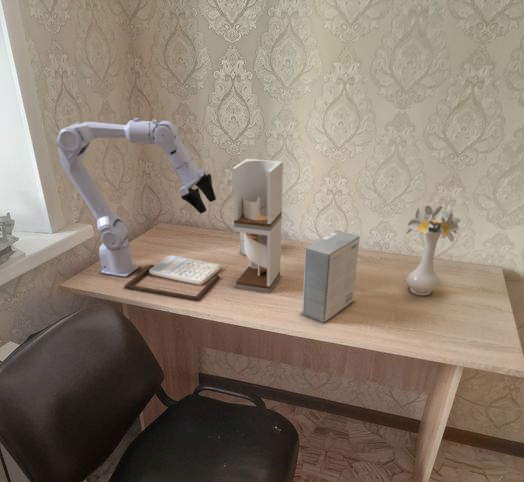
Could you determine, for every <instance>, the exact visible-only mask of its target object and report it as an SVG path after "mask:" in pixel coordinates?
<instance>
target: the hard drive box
mask: <svg viewBox="0 0 524 482" xmlns="http://www.w3.org/2000/svg"><path fill="white" fill-rule="evenodd" d="M359 247H360V236H359V235H356V234H352V233H348V232H345V231H341V230H337V229H336V230H335V231H332V232H331V233H329V234H327V235H325V236H323V237H321V238H320V239H318V240H316V241H315V242H313V243H311V244H309V245H307V246H305V247H304V264H303V265H304V267H303V270H304V272H303V288H302V289H303V290H302V291H303V292H302V315H304V316H306V317H308V318H311V319H314V320H316V321H318V322H321V323H325V322H326V321H328V320H330V319H331V318H333V317H334V316H335V315H336V314H337V313H340V311H342V310H343V309H345V308H347V306H349V305H350V304H351V303H353V301H354V294H355V287H356V276H357V275H356V274H357V268H358V264H357V263H358V256H359Z"/></svg>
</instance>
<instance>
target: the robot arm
mask: <svg viewBox="0 0 524 482" xmlns="http://www.w3.org/2000/svg"><path fill="white" fill-rule="evenodd" d="M100 138H101V139H103V138H105V139H107V138H108V139H127V140H128V141H129V142H130V143H131V144H143V145H157V146H158V147H160V148H161V149H162V150H163V152H164V153H165V156H166V157H167V159H168V161H169V162H170V164H171V165H172V168H173V169H174V171H175V172H176V174H177V175H178V177H179V179H180V180H181V182H182V185H181V187H180V188H179V189H178V192H179V193H180V194H181V195H180V198H181V200H183V201H185V202H187V203H189V204H190V205H191V206H192V207H193V208H194V209H195V210H196V211H197V212H198V213H199V214H204V213H206V212H207V207H206V206H205V204H204V201H203V199H202V197H201V193H200V191H201V192H202V194H203V195H204V196H205V198H206V199H207V200H208V202H210V203H212V202H214V201H216V200H217V197H216V193H215V190H214V188H213V182H212V175H211V173H208V172H207V170H206V168H205V167H201V168H199V169H198V167H197V165H196V164H195V161H194V160H193V158H192V156H191V155H190V153H189V150H187V148H186V146H185V145H184V143H183V141H182V140H181V138H180V137H179V135H178V129H177V126H176V125H175V123H173V122H172V121H170V120H166V119H162V120H161V121H159V122H158V120H157V119H152V120H140V117H134V118H133V119H131V120H129V121H128V122H127V123H126V124H118V123H110V122H109V123H108V122H98V121H84V122H79V121H77V122H74V123H72V124H71V125H69V126H67V127H64V128H62V129H60V130H59V132H58V135H57V138H56V141H55V144H56V146H57V147H58V153H59V159H60V165H61V167H62V169H63V170H64V171H65V173H66V174H67V176H68V177H69V179H70V181H71V182H72V184H73V185H74V187H75V189H76V190H77V192H78V193H79V195H80V197H81V198H82V200H83V201H84V203H85V204H86V206H87V207H88V209H89V211H90V212H91V213H92V215H93V217H94V219H95V220H96V226H97V227H96V228H97V231H98V233H99V235H100V240H101V242H102V243H101V244H100V246H99V249H98V256H99V261H100V264H101V265H100V266H101V272H100V273H101V274H105V275H111V276H118V277H124V278H127V277H128V276H130V275H131V274H132V273H134V272H135V271H136V270H138V269H139V268H140V266H139V265H136V264H133V257H132V253H131V246H130V241H129V239H128V236H129V234H130V227H129V226H128V225H129V224H127V223H126V222H125V221H124V220H122V219H121V217H120V215H118V213H116V212H114V211H113V210H112V209H111V207H110V206H109V204H108V202H107V201H106V199H105V197H104V196H103V194H102V192H101V190H100V189H99V188H98V186H97V184H96V182H95V181H94V179H93V178H92V176H91V175H90V173H89V172H88V170H87V168H86V167H85V165H84V164H83V160H84V156H85V152H86V150H87V149H88V147H89V146H90V144H91V142H92V141H94V140H96V139H100ZM195 186H196V187H197V188H195V189H194V187H195Z"/></svg>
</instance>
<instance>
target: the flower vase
mask: <svg viewBox="0 0 524 482" xmlns="http://www.w3.org/2000/svg"><path fill="white" fill-rule="evenodd" d="M442 209H443V206H442V205H440V206H437V207H436V208H435V209H434V210H433V208H432V206H431V205H425V207H424V210H423V211H424V212H423V211H422V210H420V207H419V208H418V207H417V209H416V212H415V218H412V219H410V220H409V222H408V228H409V229H408V230H407V232H406V234H409V233H410V232H412V231H415V232H414V233H413V235H412V239H413V240H415V239H417V237H419V236H420V235H421V234H425V244H424V248H423V252H422V256H421V259H420V262H419V263H418V265H417V267H416V268H415V269H413V270H411V272H409V274H407V277H406V284H407V286H408V287H409V290H410V292H411V293H412V294H414V295H416V296H421V297H423V296H429V295H431V294H432V292H433V291H435V290H436V289H438V287H439V286H440V278H439V276H438V273H436V271H435V269H434V260H435V259H434V258H435V253H436V248H437V245H438V241H439V239H440V237H441V238H442V239H446V237H447V238H448V240H449V241H450V242H451V243H453V242H454V235H453V233H454V234H457V233H458V232H457V231H458V229H459V225H458V223H460V221H461V219H460V218H459V217H457V216H454V214H453V207H452V206H448V207H447V208H446V209H444V210H443V213H442V212H441V211H442ZM429 224H430V225H431V226H432V227H431V226H429Z"/></svg>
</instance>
